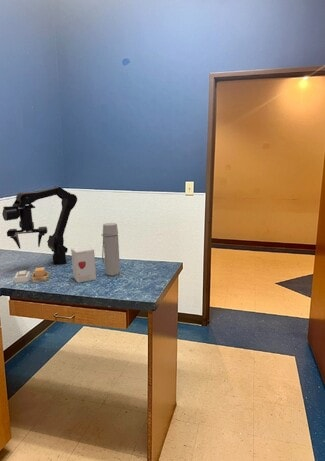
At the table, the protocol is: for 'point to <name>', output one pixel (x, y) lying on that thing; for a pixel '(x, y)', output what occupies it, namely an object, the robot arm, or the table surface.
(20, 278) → the clip
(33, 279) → the holder
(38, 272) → the orange block
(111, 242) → the water bottle
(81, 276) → the supplement box
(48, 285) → the table surface
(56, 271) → the table surface
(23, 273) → the block
